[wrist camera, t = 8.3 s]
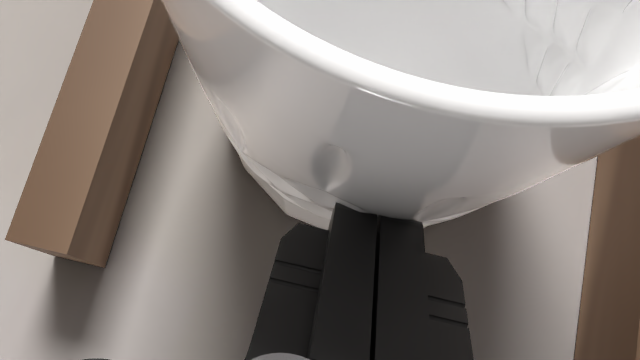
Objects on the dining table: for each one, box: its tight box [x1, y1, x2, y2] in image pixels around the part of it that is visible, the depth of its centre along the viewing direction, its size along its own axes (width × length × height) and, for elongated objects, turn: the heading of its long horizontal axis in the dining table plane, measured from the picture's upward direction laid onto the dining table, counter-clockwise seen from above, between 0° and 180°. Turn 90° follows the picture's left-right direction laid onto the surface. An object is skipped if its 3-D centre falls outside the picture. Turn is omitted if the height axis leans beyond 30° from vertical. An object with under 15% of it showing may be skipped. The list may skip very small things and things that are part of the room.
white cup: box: [161, 0, 640, 230], centre depth 10 cm, size 8×8×10 cm
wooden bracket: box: [5, 0, 640, 360], centre depth 14 cm, size 13×12×2 cm
